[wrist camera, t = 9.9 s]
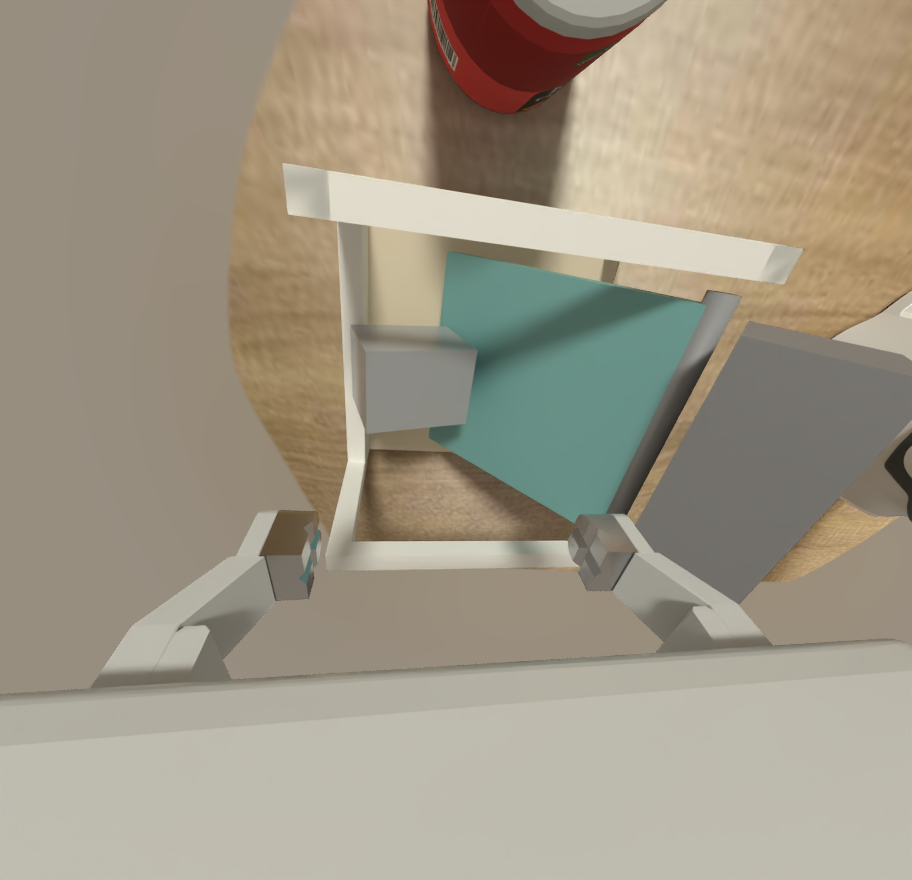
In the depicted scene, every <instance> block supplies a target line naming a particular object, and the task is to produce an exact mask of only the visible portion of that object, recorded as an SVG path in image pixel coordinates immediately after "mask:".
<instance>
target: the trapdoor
mask: <svg viewBox="0 0 912 880" xmlns="http://www.w3.org/2000/svg"><path fill="white" fill-rule="evenodd" d="M741 298H742V296H739V295H734V294H730V293H724V292H719V291H712V290H707V291H706V294H705V296H704V298H703V300H702V302H698V301H693V300H688V299H683V298H679V297H674V296H669V295H664V294H659V293H654V292H650V291H645V290H640V289H635V288H630V287H625V286H621V285H616V284H611V283H606V282H601V281H596V280H592V279H587V278H582V277H577V276H572V275H567V274H563V273H558V272H553V271H548V270H543V269H538V268H534V267H529V266H524V265H519V264H514V263H509V262H505V261H500V260H495V259H490V258H485V257H480V256H476V255H471V254H466V253H461V252H451V251H447V260H446V270H445V280H444V290H443V300H442V310H441V320H440V326H447V327H448V328H449V329H450V330H452V331H453V332H454V333H456V334H457V335H458V336H459V337H461V338H462V339H463V340H465V341H466V342H467V343H468V344H470V345H471V346H472V347H474V348H475V349H476V350H477V357H476V363H475V369H474V376H473V382H472V388H471V394H470V400H469V406H468V412H467V419H466V424H458V425H448V426H438V427H430V429H429V438H430V439H431V440H433V441H435V442H436V443H438V444H440V445H441V446H443V447H445V448H447V449H448V450H450V451H452V452H453V453H455V454H457V455H459V456H460V457H462V458H464V459H465V460H467V461H469V462H470V463H472V464H474V465H476V466H477V467H479V468H481V469H482V470H484V471H486V472H487V473H489V474H491V475H493V476H494V477H496V478H498V479H499V480H501V481H503V482H505V483H506V484H508V485H510V486H511V487H513V488H515V489H516V490H518V491H520V492H522V493H523V494H525V495H527V496H528V497H530V498H532V499H534V500H535V501H537V502H539V503H540V504H542V505H544V506H545V507H547V508H549V509H551V510H552V511H554V512H556V513H557V514H559V515H561V516H562V517H564V518H566V519H568V520H569V521H571V522H573V523H574V524H576V523H575V521H576V519H577V517H578V516H579V515H580V514H625V515H627V514H628V512H629V510H630V508H631V506H632V504H633V502H634V500H635V499H636V497H637V495H638V493H639V491H640V489H641V487H642V485H643V483H644V482H645V480H646V478H647V476H648V474H649V472H650V470H651V468H652V466H653V465H654V463H655V461H656V459H657V457H658V455H659V453H660V451H661V449H662V448H663V446H664V444H665V442H666V440H667V438H668V436H669V434H670V432H671V430H672V429H673V427H674V425H675V423H676V421H677V419H678V417H679V415H680V413H681V412H682V410H683V408H684V406H685V404H686V402H687V400H688V398H689V396H690V395H691V393H692V391H693V389H694V387H695V385H696V383H697V381H698V379H699V378H700V376H701V374H702V372H703V370H704V368H705V366H706V364H707V362H708V361H709V359H710V357H711V355H712V353H713V351H714V349H715V347H716V345H717V343H718V342H719V340H720V338H721V336H722V334H723V332H724V330H725V328H726V326H727V325H728V323H729V321H730V319H731V317H732V315H733V313H734V311H735V309H736V308H737V306H738V304H739V302H740V300H741ZM911 420H912V361H911V360H910V359H908V358H907V357H905V356H904V355H902V354H898V353H893V352H889V351H884V350H880V349H875V348H870V347H866V346H861V345H857V344H852V343H847V342H843V341H838V340H834V339H829V338H824V337H820V336H815V335H811V334H806V333H801V332H797V331H792V330H788V329H783V328H779V327H774V326H769V325H765V324H760V323H756V322H751V321H749V323H748V324H747V326H746V328H745V330H744V331H743V333H742V335H741V336H740V338H739V340H738V342H737V344H736V345H735V347H734V349H733V351H732V353H731V354H730V356H729V358H728V360H727V362H726V363H725V365H724V367H723V369H722V371H721V372H720V374H719V376H718V378H717V379H716V381H715V383H714V385H713V387H712V388H711V390H710V392H709V394H708V396H707V397H706V399H705V401H704V403H703V405H702V406H701V408H700V410H699V412H698V414H697V415H696V417H695V419H694V421H693V422H692V424H691V426H690V428H689V430H688V431H687V433H686V435H685V437H684V439H683V440H682V442H681V444H680V446H679V448H678V449H677V451H676V453H675V455H674V457H673V458H672V460H671V462H670V464H669V465H668V467H667V469H666V471H665V473H664V474H663V476H662V478H661V480H660V482H659V483H658V485H657V487H656V489H655V491H654V492H653V494H652V496H651V498H650V500H649V501H648V503H647V505H646V507H645V508H644V510H643V512H642V514H641V516H640V517H639V519H638V521H637V523H636V525H635V527H636V528H637V529H638V531H639V532H640V533H641V535H642V536H643V538H644V539H645V540H646V542H647V543H648V544H649V546H650V547H651V548H652V550H653V551H654V553H660V554H662V555H663V556H665V557H666V558H668V559H669V560H671V561H672V562H674V563H676V564H677V565H679V566H680V567H682V568H683V569H685V570H686V571H688V572H689V573H691V574H692V575H694V576H696V577H697V578H699V579H700V580H702V581H703V582H705V583H706V584H708V585H709V586H711V587H712V588H714V589H716V590H717V591H719V592H720V593H722V594H723V595H725V596H726V597H728V598H729V599H731V600H732V601H734V602H736V603H737V604H738V605H739V604H740V603H741V602H742V601H743V600H744V599H745V597H746V596H747V595H748V594H749V593H750V592H751V591H752V590H753V589H754V588H755V587H756V586H757V585H758V584H759V583H760V581H761V580H762V579H763V578H764V577H765V576H766V575H767V574H768V573H769V572H770V571H771V570H772V569H773V568H774V567H775V565H776V564H777V563H778V562H779V561H780V560H781V559H782V558H783V557H784V556H785V555H786V554H787V553H788V552H789V550H790V549H791V548H792V547H793V546H794V545H795V544H796V543H797V542H798V541H799V540H800V539H801V538H802V537H803V536H804V534H805V533H806V532H807V531H808V530H809V529H810V528H811V527H812V526H813V525H814V524H815V523H816V522H817V521H818V520H819V518H820V517H821V516H822V515H823V514H824V513H825V512H826V511H827V510H828V509H829V508H830V507H831V506H832V505H833V504H834V502H835V501H836V500H837V499H838V498H839V497H840V496H841V495H842V494H843V493H844V492H845V491H846V490H847V489H848V487H849V486H850V485H851V484H852V483H853V482H854V481H855V480H856V479H857V478H858V477H859V476H860V475H861V474H862V473H863V471H864V470H865V469H866V468H867V467H868V466H869V465H870V464H871V463H872V462H873V461H874V460H875V459H876V458H877V457H878V455H879V454H880V453H881V452H882V451H883V450H884V449H885V448H886V447H887V446H888V445H889V444H890V443H891V442H892V441H893V439H894V438H895V437H896V436H897V435H898V434H899V433H900V432H901V431H902V430H903V429H904V428H905V427H906V426H907V424H908V423H909V422H910V421H911Z"/></svg>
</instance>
